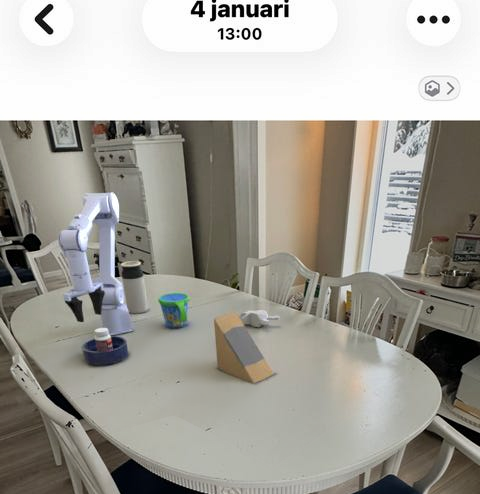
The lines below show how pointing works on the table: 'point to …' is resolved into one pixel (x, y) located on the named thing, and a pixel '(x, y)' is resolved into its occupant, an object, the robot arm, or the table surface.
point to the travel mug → (134, 287)
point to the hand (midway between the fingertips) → (89, 317)
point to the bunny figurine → (257, 318)
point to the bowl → (105, 352)
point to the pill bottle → (103, 340)
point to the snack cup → (174, 309)
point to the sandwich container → (238, 350)
